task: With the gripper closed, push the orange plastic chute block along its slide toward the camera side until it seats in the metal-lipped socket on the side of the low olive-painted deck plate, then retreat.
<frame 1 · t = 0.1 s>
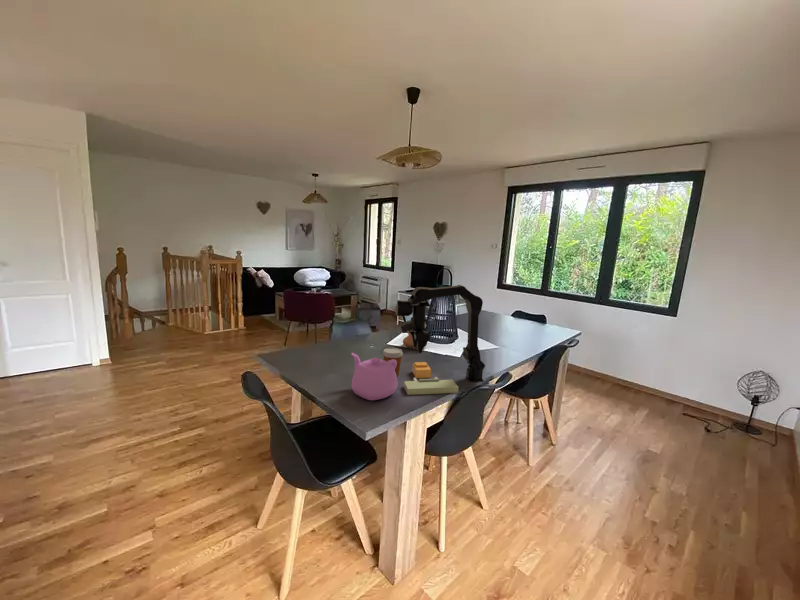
hand: (417, 349, 161), 15 cm above the table, fingers open, 9 cm apart
ceramic jug: (415, 347, 214), on the table
teapot: (373, 393, 149), on the table
disposable coffee cup: (391, 375, 170), on the table
chute: (421, 369, 171), point 3 cm above the table, slide at 0.0 cm
deck: (430, 389, 155), on the table
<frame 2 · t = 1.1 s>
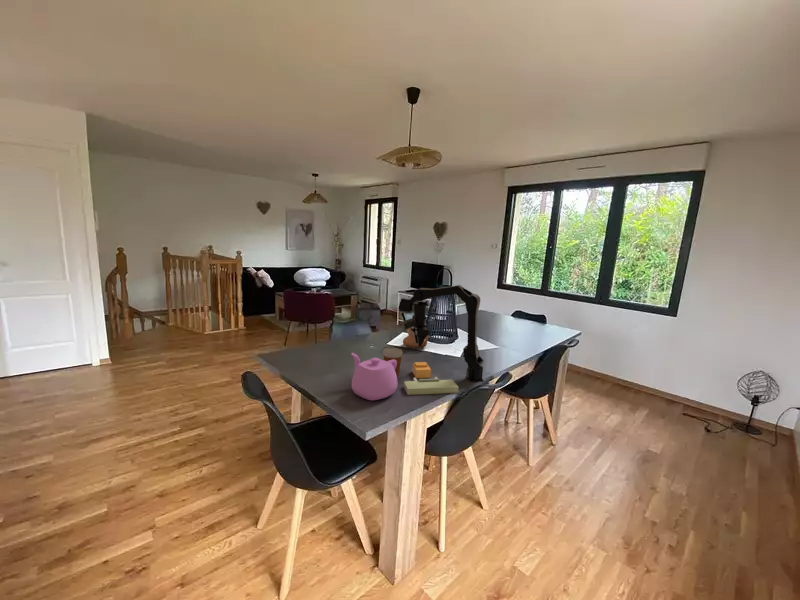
hand: (418, 344, 178), 12 cm above the table, fingers open, 6 cm apart
nothing on the table moved.
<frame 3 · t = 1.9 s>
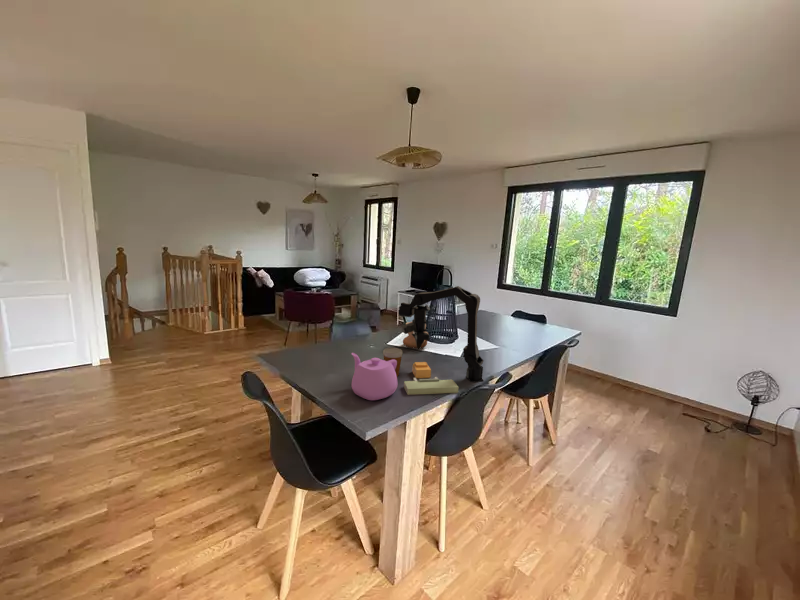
hand: (418, 349, 178), 10 cm above the table, fingers closed
nothing on the table moved.
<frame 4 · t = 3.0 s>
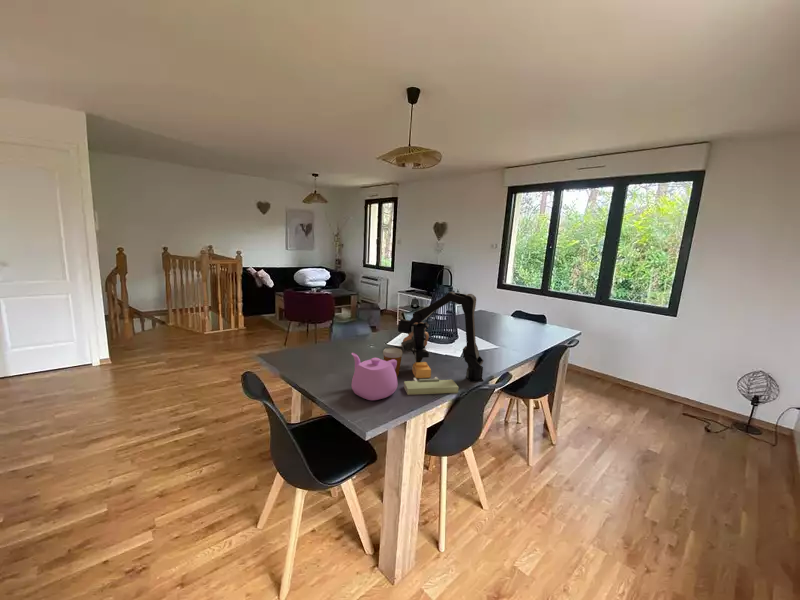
hand: (417, 365, 179), 1 cm above the table, fingers closed
nothing on the table moved.
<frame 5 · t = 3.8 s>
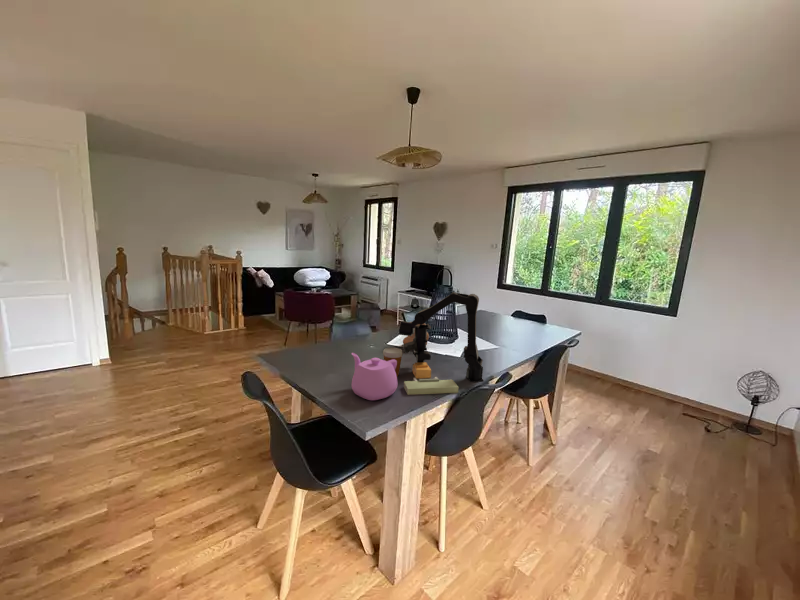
hand: (419, 367, 176), 1 cm above the table, fingers closed
chute: (421, 369, 171), point 3 cm above the table, slide at 0.3 cm, touching gripper
everything else where it was.
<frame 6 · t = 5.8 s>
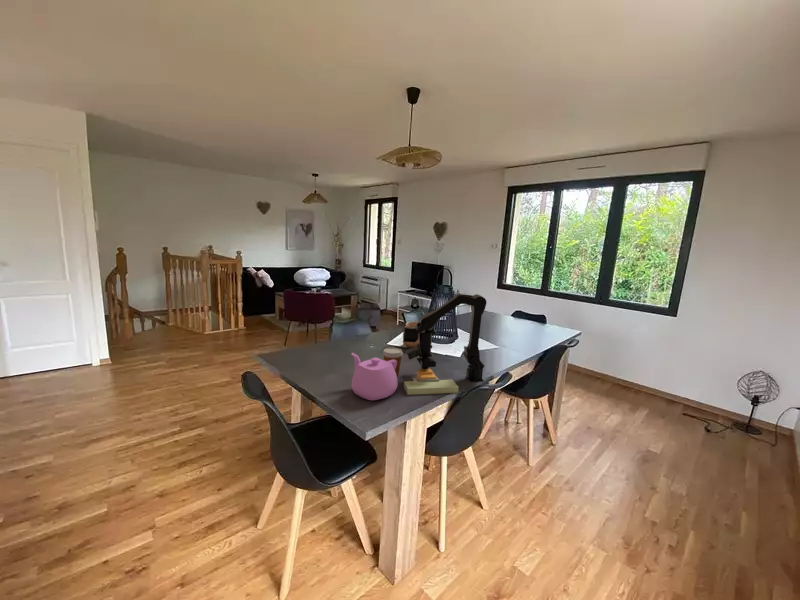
hand: (423, 374, 168), 1 cm above the table, fingers closed
chute: (426, 377, 162), point 3 cm above the table, slide at 9.0 cm, touching deck, gripper
everything else where it was.
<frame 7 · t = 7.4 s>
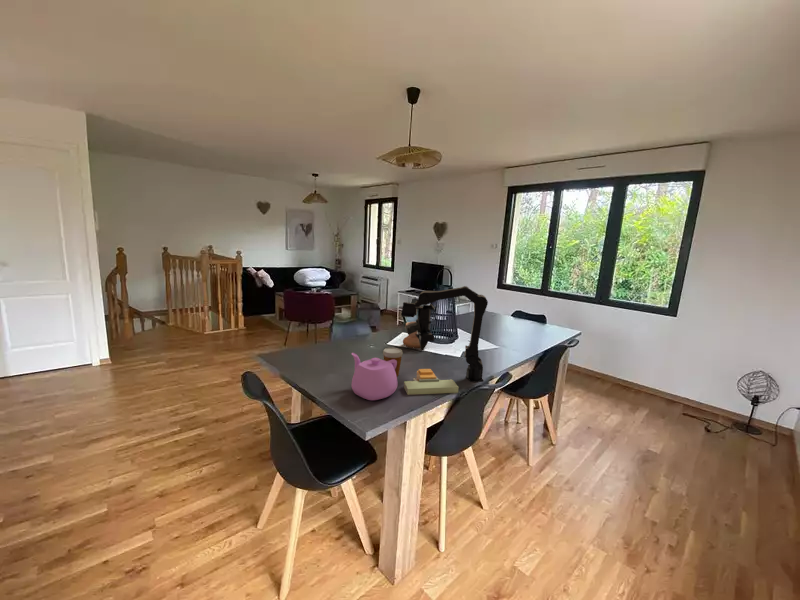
hand: (421, 350, 170), 12 cm above the table, fingers closed
chute: (426, 377, 162), point 3 cm above the table, slide at 9.0 cm, touching deck
everything else where it was.
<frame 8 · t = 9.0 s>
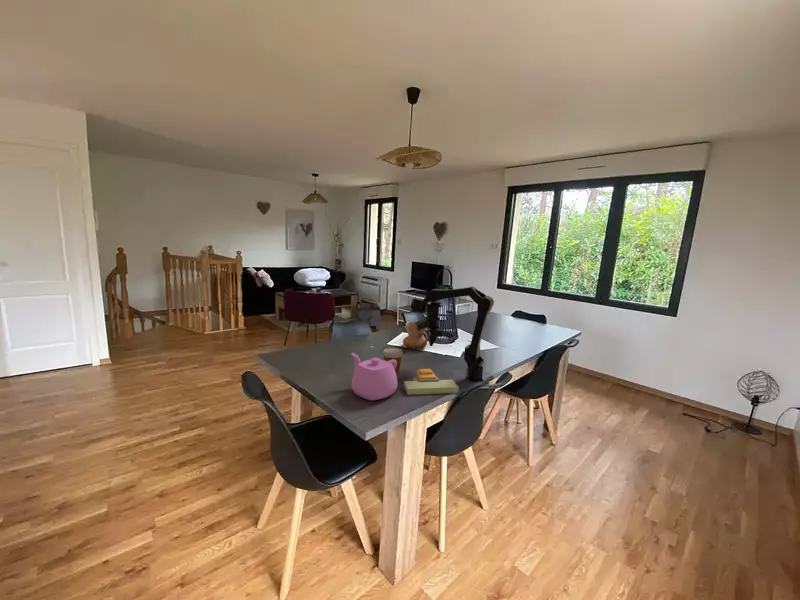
hand: (430, 345, 177), 12 cm above the table, fingers closed
nothing on the table moved.
at the end: chute slide at 9.0 cm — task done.
